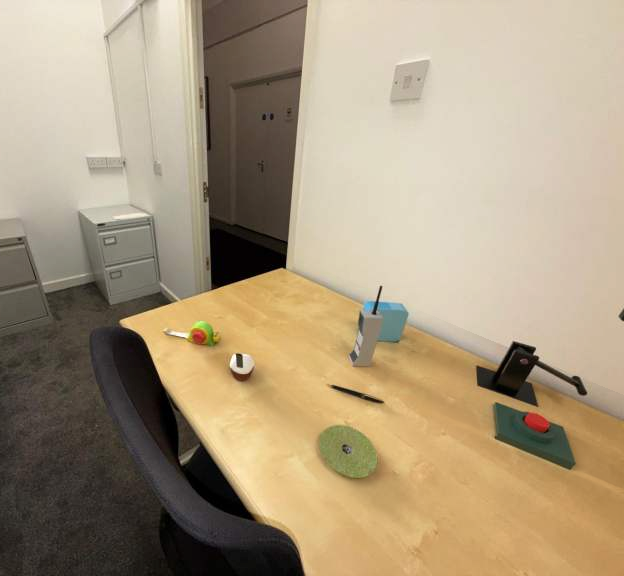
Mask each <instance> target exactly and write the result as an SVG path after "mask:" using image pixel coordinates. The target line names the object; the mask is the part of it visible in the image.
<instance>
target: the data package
mask: <svg viewBox="0 0 624 576" xmlns="http://www.w3.org/2000/svg"><path fill="white" fill-rule="evenodd" d="M375 302H376V300H375V301H373V300H369V301H366V302H365V303H364V304H363V307H362V310H373V309H374V305H375ZM377 311H378V312H379V313H380V315H381V316H382V317H383V319H384V320H383V323H382V327H381V330H380V333H379V337H378V340H377V342H388V343H389V342H390V343H398V342H400V340H401V339H402V336H403V332H404V330H405V327H406V324H407V321H408V318H409V316H410V315H409V311H408V309H406V307H405V305H404V304H403V303H401V302H389V301H379V303H378V307H377ZM357 329H358V330H359V326H358V327H357Z"/></svg>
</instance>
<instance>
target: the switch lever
mask: <svg viewBox="0 0 624 576" xmlns="http://www.w3.org/2000/svg"><path fill="white" fill-rule="evenodd" d="M516 350H519V351H522V352H526V353H529V354H532V353H531V352H529V351H527V350H525V349H524V348H522V347H520V346H519V347H518V348H517V349H516ZM513 352H514V351H513ZM513 352H512V354H513ZM535 367H538V368H539V369H542V370H544V371H545V372H547V373H548V374H551V375H553V376H555V377H556V378H559V379H560V380H562V381H564V382H566V383H568V384H570V385H572V386H573V387H575V390H576V392H577V395H579V396H583V397H584V396H587V395H588V391H587V389H586V387H585V385H584V383H583V381H582V379H581V377H580V376H579V375H573V376H571V377H570V376H569V375H567V374H565V373H564V372H561V371H559V370H557V369H556V368H554V367H552V366H549V365H548V364H546V363H544V362H542V361H541V360H538V362H537V363H536V365H535Z"/></svg>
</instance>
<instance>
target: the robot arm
mask: <svg viewBox="0 0 624 576" xmlns="http://www.w3.org/2000/svg"><path fill="white" fill-rule="evenodd" d="M618 318H619V319H620V320H621V321H622V322H624V308H622V310H621V311H620V313H619V314H618Z"/></svg>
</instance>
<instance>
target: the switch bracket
mask: <svg viewBox="0 0 624 576" xmlns="http://www.w3.org/2000/svg"><path fill="white" fill-rule="evenodd" d="M519 346H520V347H522V348H524V349H525V350H527V351H529V352H531V353H532V354H529V353H526V352H522V351H519V350H516V349H517V348H518V347H519ZM513 351H514V352H513ZM536 351H537V347H536V346H532V345H529V344H525V343H522V342H519V341H515V340H513V341H511V344H510V345H509V347H508V348H507V351H506V352H505V354H504V356H503V358H502V360H501V362H500V363H499V365H498V366H497V368H496V370H492V369H489V368H486V367H484V366H480V365H475V369H476V371H475V372H476V385H477V387H480V388H483V389H486V390H489V391H491V392H494V393H496V394H499V395H504V396H506V397H508V398H511V399H514V400H517V401H518V402H519V401H520V402H522V403H525V404H528V405H531V406H534V407H536V408H538V407H539V404H538V400H537V397H536V393H535V390H534V385H533V383H532V382H529V381H527V379H528V377H529V376H530V374H531V372H532V371H533V370H534V368H535V367H536V363H537V362H538V361H540V356H539V355H536V354H535V353H536ZM512 352H513V354H512Z"/></svg>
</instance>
